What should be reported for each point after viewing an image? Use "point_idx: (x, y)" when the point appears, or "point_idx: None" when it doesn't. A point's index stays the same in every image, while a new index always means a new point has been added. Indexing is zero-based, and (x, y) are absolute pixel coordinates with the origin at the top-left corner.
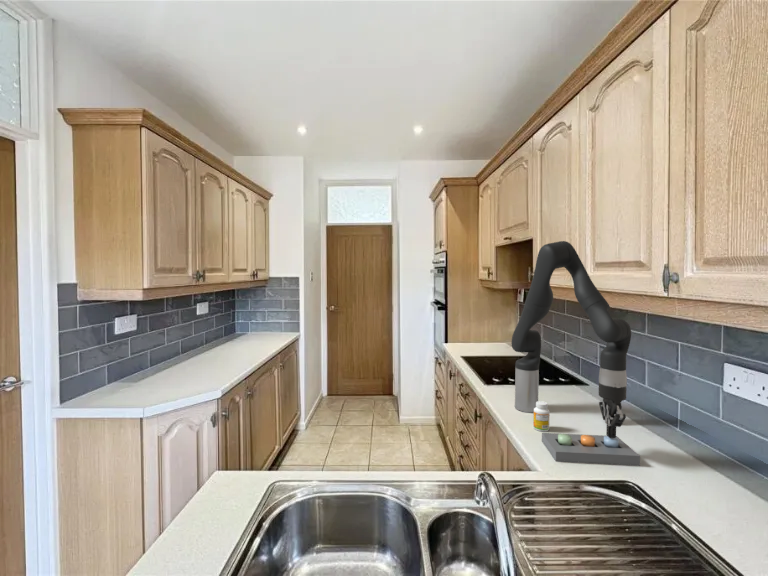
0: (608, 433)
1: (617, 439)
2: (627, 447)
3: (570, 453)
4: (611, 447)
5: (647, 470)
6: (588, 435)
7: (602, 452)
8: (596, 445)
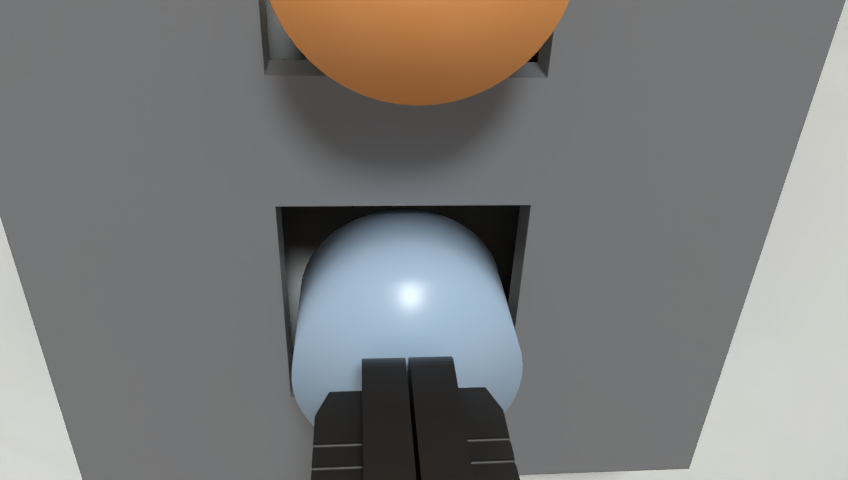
0: (365, 407)
1: None
2: None
3: None
4: (305, 277)
5: (29, 419)
6: (539, 19)
7: (18, 45)
8: None
